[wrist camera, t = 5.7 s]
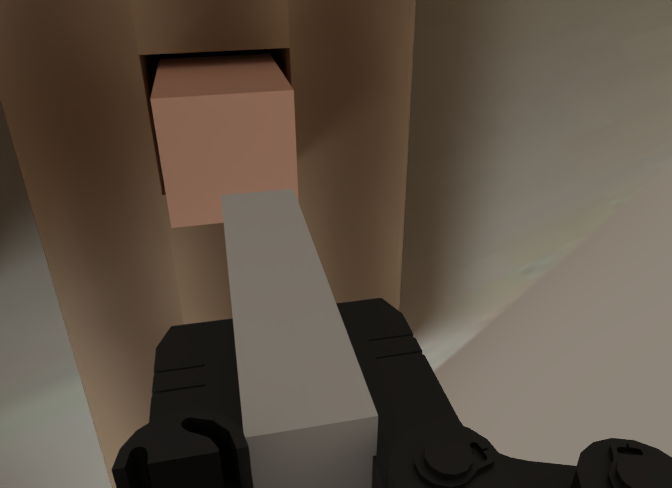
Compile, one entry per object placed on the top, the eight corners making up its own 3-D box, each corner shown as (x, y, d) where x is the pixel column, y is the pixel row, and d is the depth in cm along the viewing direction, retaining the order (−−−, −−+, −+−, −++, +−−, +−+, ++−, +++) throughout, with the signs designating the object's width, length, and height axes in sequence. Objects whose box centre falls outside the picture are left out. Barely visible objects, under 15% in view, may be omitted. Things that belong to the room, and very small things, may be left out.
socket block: (126, 409, 33) (115, 497, 28) (9, -66, 21) (-48, -65, 16) (362, 372, 36) (391, 446, 30) (370, -69, 24) (419, -69, 19)
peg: (175, 163, 23) (171, 228, 18) (159, 59, 21) (150, 98, 16) (275, 154, 23) (299, 214, 19) (269, 53, 22) (293, 90, 17)
